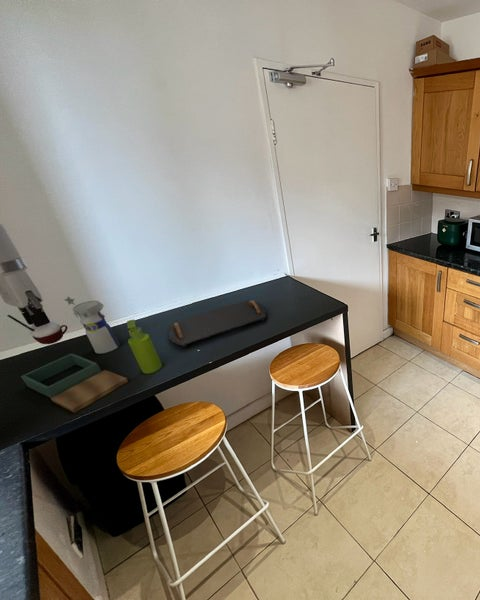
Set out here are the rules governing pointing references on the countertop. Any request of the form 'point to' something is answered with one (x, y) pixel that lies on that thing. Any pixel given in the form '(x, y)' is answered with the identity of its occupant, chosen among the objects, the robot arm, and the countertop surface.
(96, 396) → the cutting board
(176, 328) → the serving tray
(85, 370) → the crate
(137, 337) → the soap dispenser
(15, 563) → the countertop surface
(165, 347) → the countertop surface
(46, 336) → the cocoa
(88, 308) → the water bottle
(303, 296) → the countertop surface
